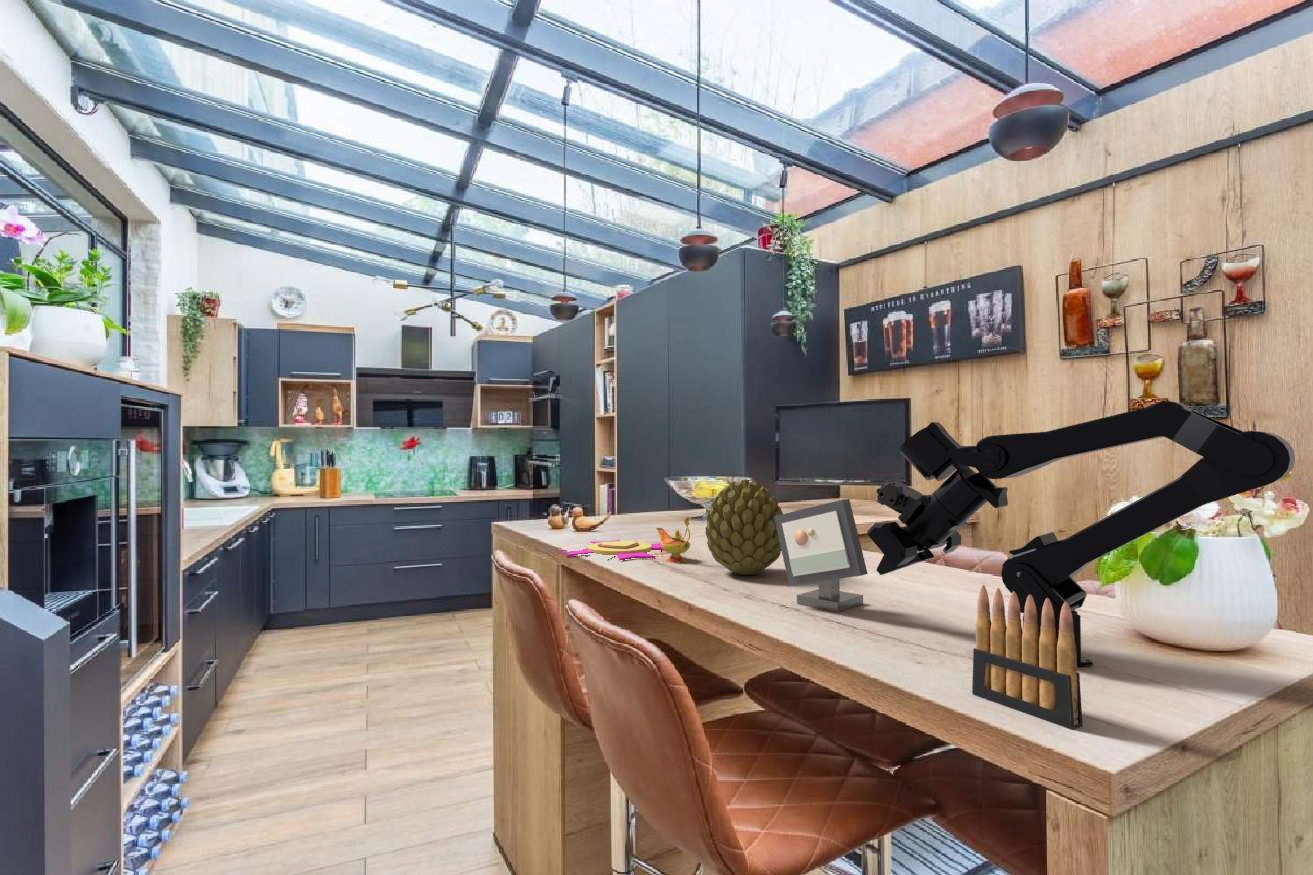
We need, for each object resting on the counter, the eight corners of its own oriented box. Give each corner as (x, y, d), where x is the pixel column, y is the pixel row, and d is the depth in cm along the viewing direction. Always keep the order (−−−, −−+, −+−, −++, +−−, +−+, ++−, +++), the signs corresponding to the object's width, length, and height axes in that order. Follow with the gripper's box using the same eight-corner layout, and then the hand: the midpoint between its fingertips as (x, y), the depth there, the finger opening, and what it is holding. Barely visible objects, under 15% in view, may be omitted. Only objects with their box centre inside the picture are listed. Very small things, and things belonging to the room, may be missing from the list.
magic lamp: (669, 553, 170) (669, 509, 170) (703, 564, 153) (702, 516, 153) (644, 555, 167) (644, 511, 167) (676, 567, 150) (676, 518, 151)
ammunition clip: (971, 694, 73) (970, 584, 73) (982, 691, 74) (980, 582, 74) (1072, 730, 64) (1070, 604, 64) (1083, 726, 65) (1081, 602, 65)
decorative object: (765, 565, 152) (764, 477, 152) (800, 579, 136) (799, 480, 136) (695, 569, 147) (694, 478, 148) (722, 584, 131) (721, 482, 131)
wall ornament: (576, 556, 154) (551, 539, 183) (576, 566, 154) (551, 548, 183) (695, 548, 165) (654, 533, 193) (695, 558, 165) (654, 541, 193)
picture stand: (863, 603, 114) (862, 522, 115) (836, 612, 109) (835, 526, 109) (823, 596, 120) (822, 518, 120) (796, 603, 115) (795, 522, 115)
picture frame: (867, 573, 104) (849, 498, 107) (859, 576, 103) (840, 499, 105) (796, 584, 114) (780, 515, 117) (787, 586, 113) (772, 516, 115)
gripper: (940, 462, 104) (876, 526, 112) (879, 465, 92) (812, 537, 100) (993, 516, 99) (921, 579, 107) (936, 527, 86) (860, 598, 94)
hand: (879, 572), depth 102 cm, fingers closed
